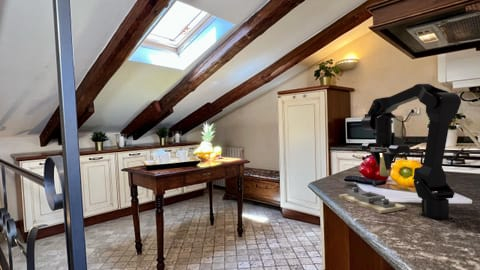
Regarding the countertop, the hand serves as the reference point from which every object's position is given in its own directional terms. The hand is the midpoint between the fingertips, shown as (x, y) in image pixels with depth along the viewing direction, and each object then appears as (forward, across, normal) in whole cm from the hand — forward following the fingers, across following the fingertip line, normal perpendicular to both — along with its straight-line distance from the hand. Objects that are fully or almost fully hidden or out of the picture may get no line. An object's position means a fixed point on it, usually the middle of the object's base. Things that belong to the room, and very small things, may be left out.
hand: (384, 169), depth 107 cm
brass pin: (+2, 0, 0) cm, 2 cm away
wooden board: (+12, -2, +10) cm, 15 cm away
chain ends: (+12, -2, +10) cm, 15 cm away
